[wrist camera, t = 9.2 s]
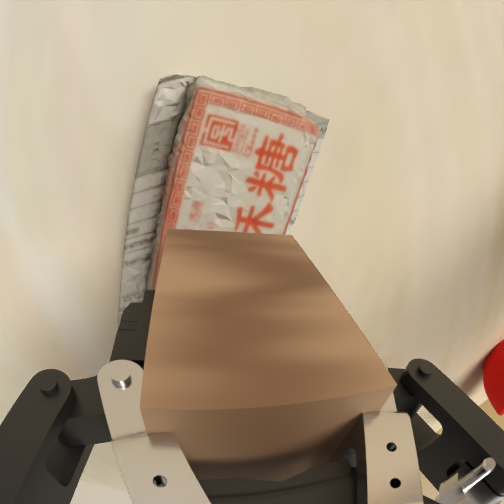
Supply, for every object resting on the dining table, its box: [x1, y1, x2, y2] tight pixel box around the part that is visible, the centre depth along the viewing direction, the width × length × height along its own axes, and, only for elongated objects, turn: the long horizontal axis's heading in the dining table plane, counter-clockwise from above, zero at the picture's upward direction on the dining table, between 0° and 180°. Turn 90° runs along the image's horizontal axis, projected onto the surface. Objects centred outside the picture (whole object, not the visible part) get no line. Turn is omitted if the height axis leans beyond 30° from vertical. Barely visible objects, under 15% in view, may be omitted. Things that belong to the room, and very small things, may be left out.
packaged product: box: [118, 73, 329, 327], centre depth 17 cm, size 18×5×10 cm
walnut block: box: [140, 229, 397, 482], centre depth 9 cm, size 5×5×8 cm
